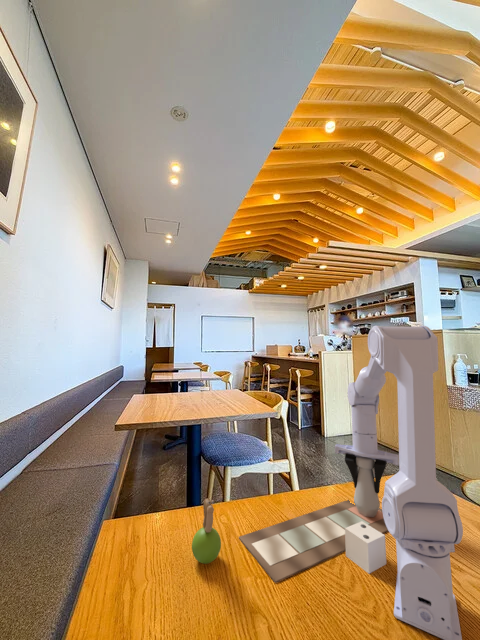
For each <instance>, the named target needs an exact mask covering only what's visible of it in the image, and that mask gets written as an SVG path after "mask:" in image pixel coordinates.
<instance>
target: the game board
mask: <svg viewBox="0 0 480 640" xmlns="http://www.w3.org/2000/svg"><path fill="white" fill-rule="evenodd" d="M361 521H363V522H364V523H366V524H367V525H369V526H371V527H372V528H374V529H376V530H377V531H379V532H381V533H382V534H385V533H388V532H389V531H388V529H387V527H386V524H385V521H384V517H383V512H382V508H380V507H379V510H378V512H377V514H376V515H375V516H374V517H365V516H363V515H362V514H360V513H359V512H358V510H357V507H356V505H354V504H352V503H350V501H349V499H347V501H346V500H344V501H341V502H338V503H335V504H332V505H329V506H326V507H323V508H320V509H317V510H314V511H311V512H308V513H305V514H302V515H299V516H296V517H294V518H290V519H287V520H285V521H282V522H278V523H276V524H273V525H270V526H267V527H263V528H261V529H258V530H254V531H252V532H250V533H246V534H243V535H240V536H238V539H239V541H240V542H241V543H242V544H243V546H244V547H245V548H246V549H247V551H248V552H249V553H250V554H251V556H253V558H254V559H255V560H256V561H257V563H258V564H259V565H260V566H261V568H262V569H263V570H264V571H265V573H266V574H267V575H268V576H269V578H270V579H271V580H272V581H273V582H274V584H278V583H279V582H282V581H283V580H286V579H288V578H290V577H291V576H294V575H296V574H298V573H301V572H303V571H306V570H308V569H309V568H312V567H314V566H316V565H318V564H321V563H322V562H324V561H327V560H330V558H333V557H335V556H337V555H340V554H342V553H344V552H346V544H345V528H346V527H349V526H351V525H354V524H356V523H359V522H361Z"/></svg>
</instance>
